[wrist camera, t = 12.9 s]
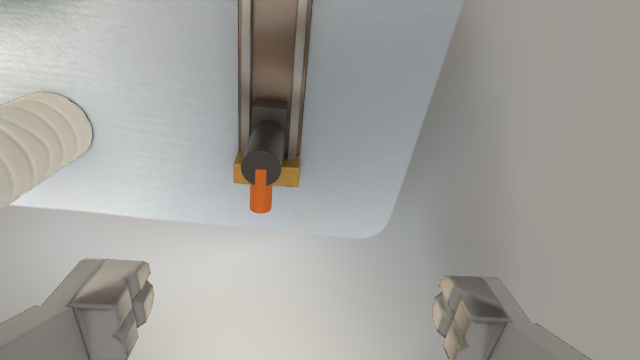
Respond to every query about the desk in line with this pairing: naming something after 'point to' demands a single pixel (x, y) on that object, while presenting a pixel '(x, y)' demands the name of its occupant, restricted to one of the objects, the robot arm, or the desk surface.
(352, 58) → the desk surface
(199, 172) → the desk surface
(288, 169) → the block
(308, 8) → the rail
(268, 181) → the nozzle
